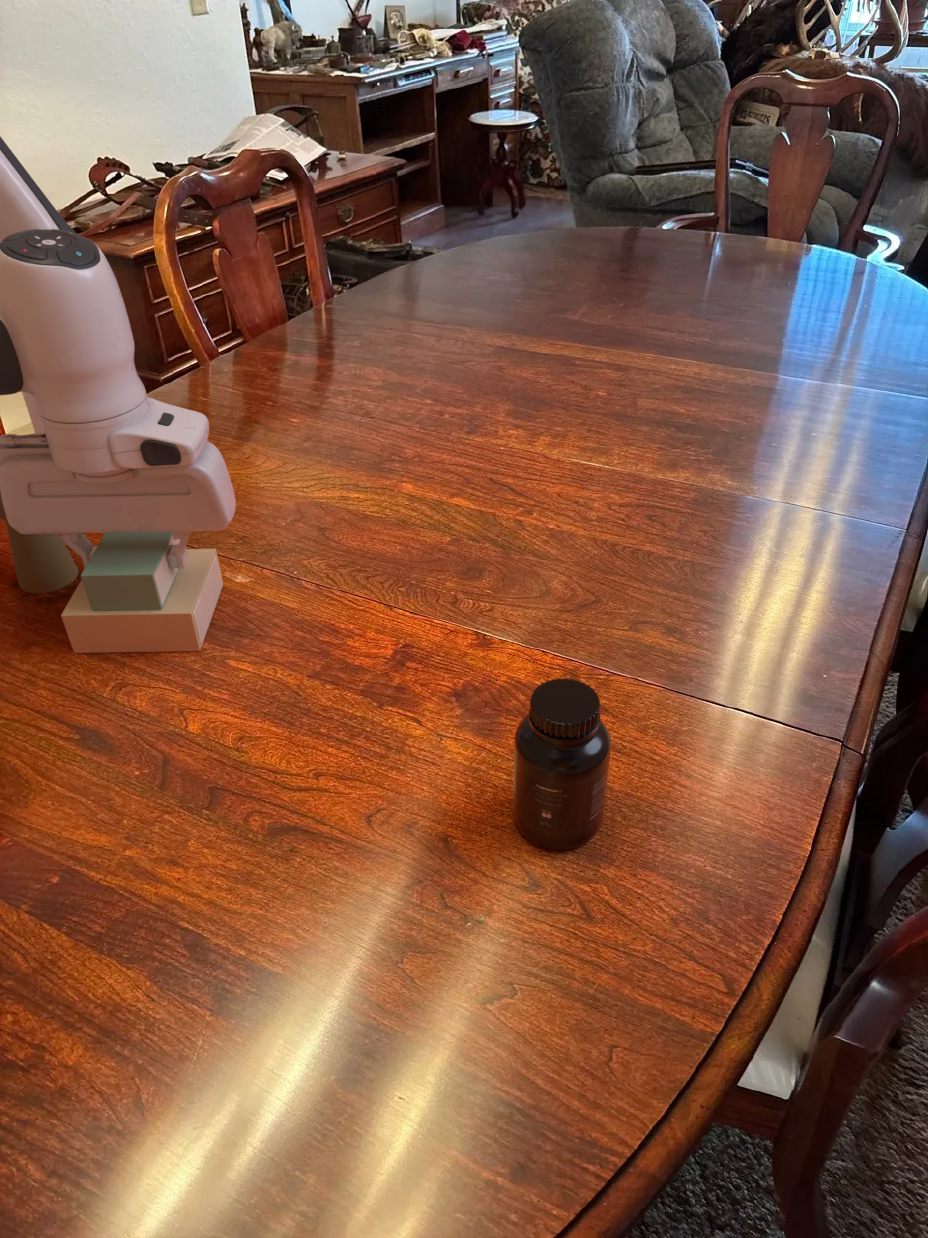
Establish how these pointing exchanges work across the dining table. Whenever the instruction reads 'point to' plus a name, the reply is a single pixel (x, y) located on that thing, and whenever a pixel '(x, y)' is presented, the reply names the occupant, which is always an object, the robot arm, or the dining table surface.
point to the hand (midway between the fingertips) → (138, 566)
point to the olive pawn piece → (40, 560)
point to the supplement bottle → (561, 766)
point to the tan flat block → (151, 614)
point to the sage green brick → (130, 572)
